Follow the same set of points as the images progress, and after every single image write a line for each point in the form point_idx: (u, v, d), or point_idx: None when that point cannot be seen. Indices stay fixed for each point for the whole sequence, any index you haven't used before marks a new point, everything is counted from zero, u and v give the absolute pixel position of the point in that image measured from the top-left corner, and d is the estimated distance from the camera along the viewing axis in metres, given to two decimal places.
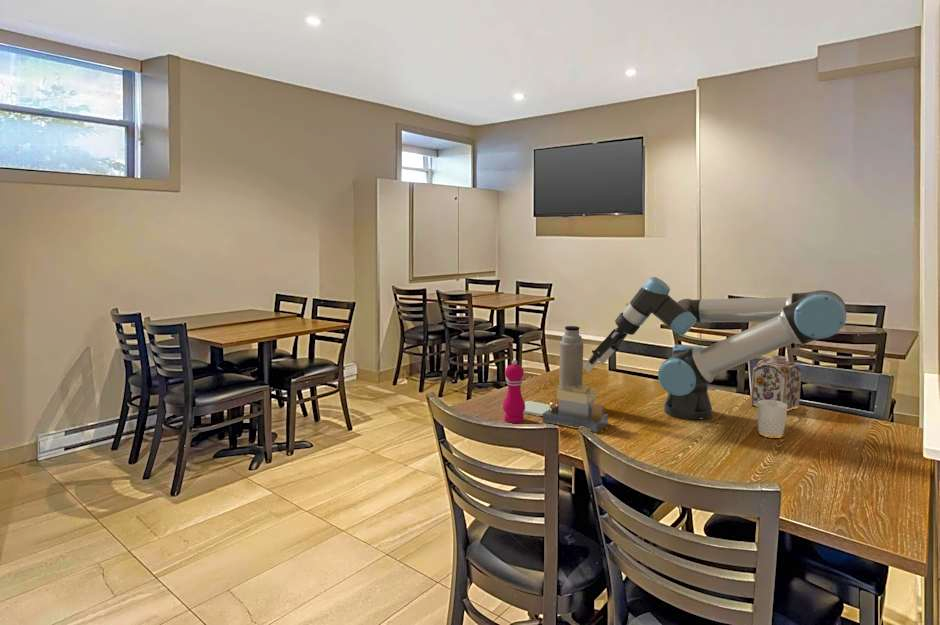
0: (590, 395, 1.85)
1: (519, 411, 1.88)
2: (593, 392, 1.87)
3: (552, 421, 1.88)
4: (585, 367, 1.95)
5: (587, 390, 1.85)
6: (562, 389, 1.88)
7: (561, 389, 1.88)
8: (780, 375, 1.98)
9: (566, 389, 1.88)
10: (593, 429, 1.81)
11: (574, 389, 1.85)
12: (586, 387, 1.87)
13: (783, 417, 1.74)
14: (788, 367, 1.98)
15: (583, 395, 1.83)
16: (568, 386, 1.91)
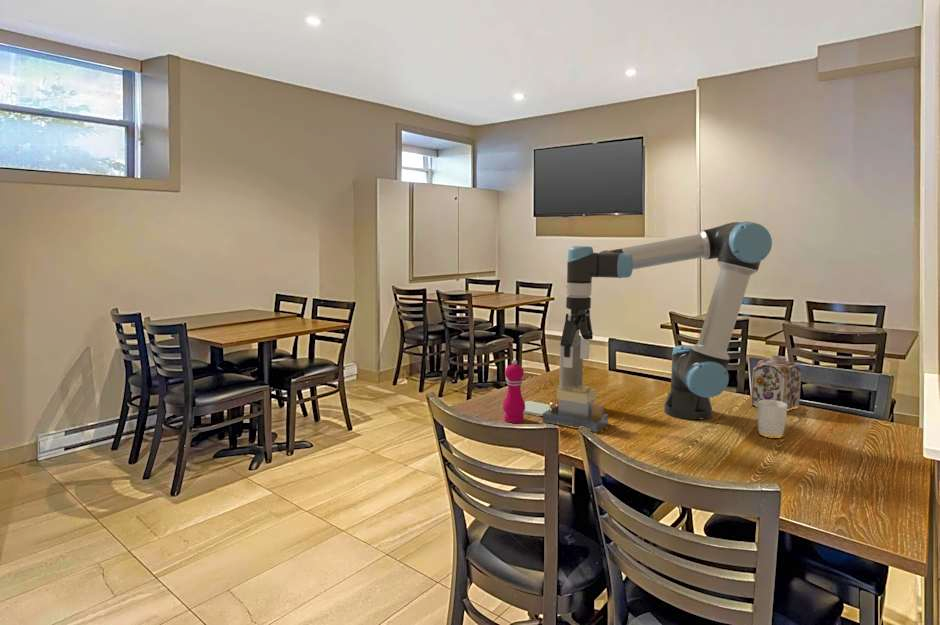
0: (590, 395, 1.85)
1: (519, 411, 1.88)
2: (593, 392, 1.87)
3: (552, 421, 1.88)
4: (566, 364, 1.81)
5: (587, 390, 1.85)
6: (562, 389, 1.88)
7: (561, 389, 1.88)
8: (780, 375, 1.98)
9: (566, 389, 1.88)
10: (593, 429, 1.81)
11: (574, 389, 1.85)
12: (586, 387, 1.87)
13: (783, 417, 1.74)
14: (788, 367, 1.98)
15: (583, 395, 1.83)
16: (568, 386, 1.91)
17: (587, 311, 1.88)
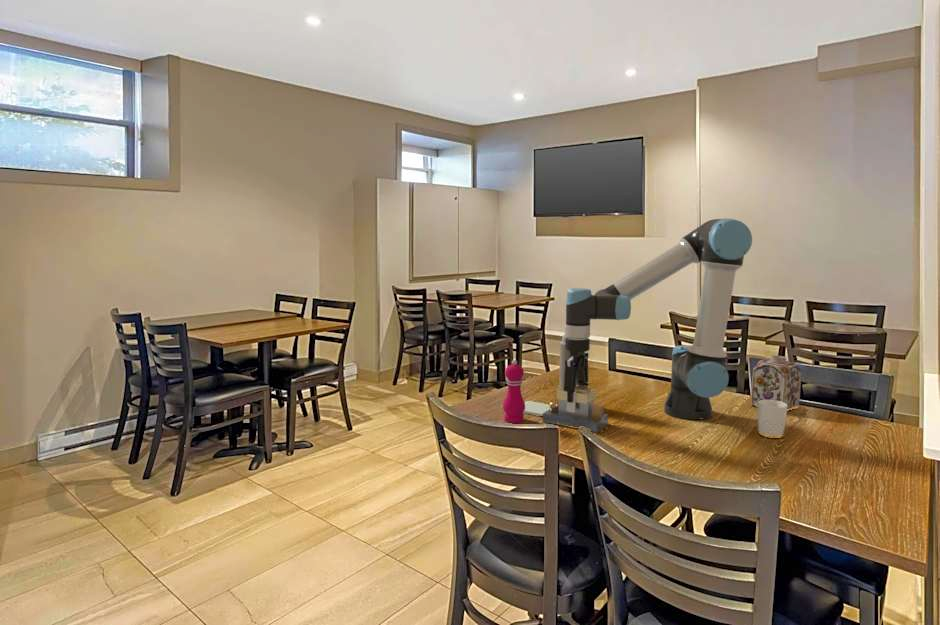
0: (590, 395, 1.85)
1: (519, 411, 1.88)
2: (593, 392, 1.87)
3: (552, 421, 1.88)
4: (569, 409, 1.85)
5: (587, 390, 1.85)
6: (562, 389, 1.88)
7: (561, 389, 1.88)
8: (780, 375, 1.98)
9: None
10: (593, 429, 1.81)
11: None
12: (586, 387, 1.87)
13: (783, 417, 1.74)
14: (788, 367, 1.98)
15: (583, 395, 1.83)
16: None
17: (586, 354, 1.90)
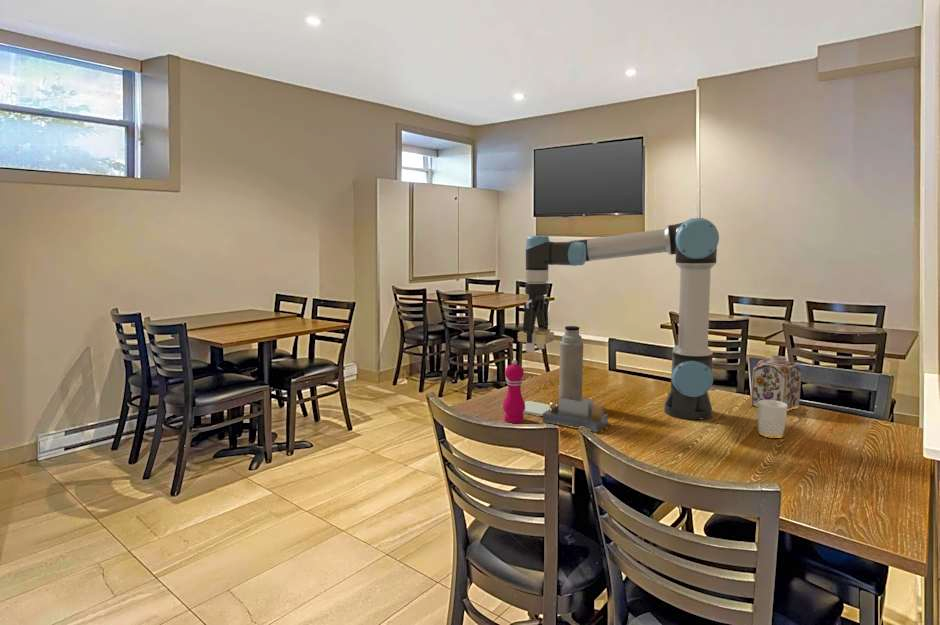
0: (548, 336, 1.95)
1: (519, 411, 1.88)
2: (551, 334, 1.98)
3: (552, 421, 1.88)
4: (529, 350, 1.96)
5: (545, 332, 1.96)
6: (522, 332, 1.99)
7: (521, 332, 1.99)
8: (780, 375, 1.98)
9: None
10: (593, 429, 1.81)
11: None
12: (545, 329, 1.97)
13: (783, 417, 1.74)
14: (788, 367, 1.98)
15: (541, 336, 1.94)
16: None
17: (545, 299, 2.01)
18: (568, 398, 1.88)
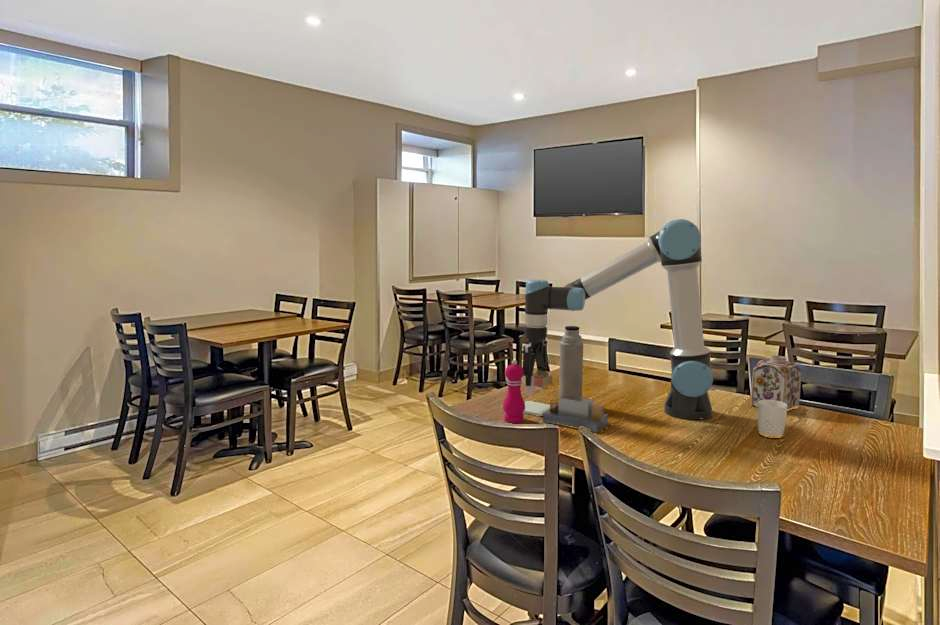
0: (547, 379, 1.98)
1: (519, 411, 1.88)
2: (550, 377, 2.00)
3: (552, 421, 1.88)
4: (527, 392, 1.98)
5: (544, 375, 1.98)
6: None
7: None
8: (780, 375, 1.98)
9: None
10: (593, 429, 1.81)
11: None
12: (544, 372, 2.00)
13: (783, 417, 1.74)
14: (788, 367, 1.98)
15: (540, 379, 1.96)
16: None
17: (545, 341, 2.03)
18: (568, 398, 1.88)
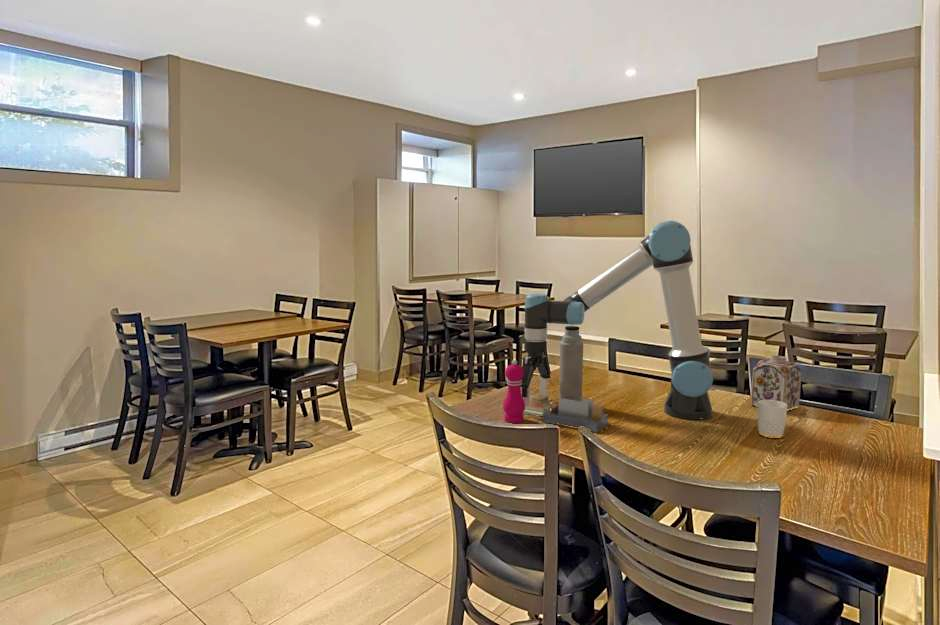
0: (547, 403, 1.99)
1: (519, 411, 1.88)
2: (550, 401, 2.01)
3: (552, 421, 1.88)
4: None
5: (544, 399, 1.99)
6: None
7: None
8: (780, 375, 1.98)
9: None
10: (593, 429, 1.81)
11: (532, 398, 2.00)
12: (544, 396, 2.01)
13: (783, 417, 1.74)
14: (788, 367, 1.98)
15: (540, 404, 1.97)
16: None
17: (544, 352, 2.04)
18: (568, 398, 1.88)
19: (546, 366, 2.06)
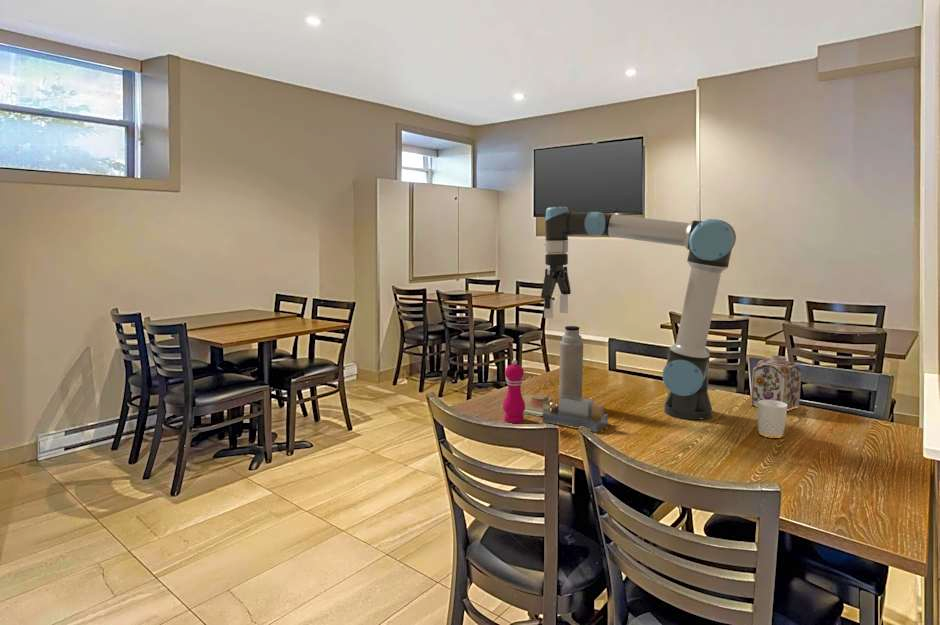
0: (547, 403, 1.99)
1: (519, 411, 1.88)
2: (550, 401, 2.01)
3: (552, 421, 1.88)
4: (547, 315, 1.96)
5: (544, 399, 1.99)
6: None
7: None
8: (780, 375, 1.98)
9: (525, 398, 2.02)
10: (593, 429, 1.81)
11: (532, 398, 2.00)
12: (544, 396, 2.01)
13: (783, 417, 1.74)
14: (788, 367, 1.98)
15: (540, 404, 1.97)
16: (528, 395, 2.06)
17: (565, 268, 2.05)
18: (568, 398, 1.88)
19: (566, 282, 2.07)
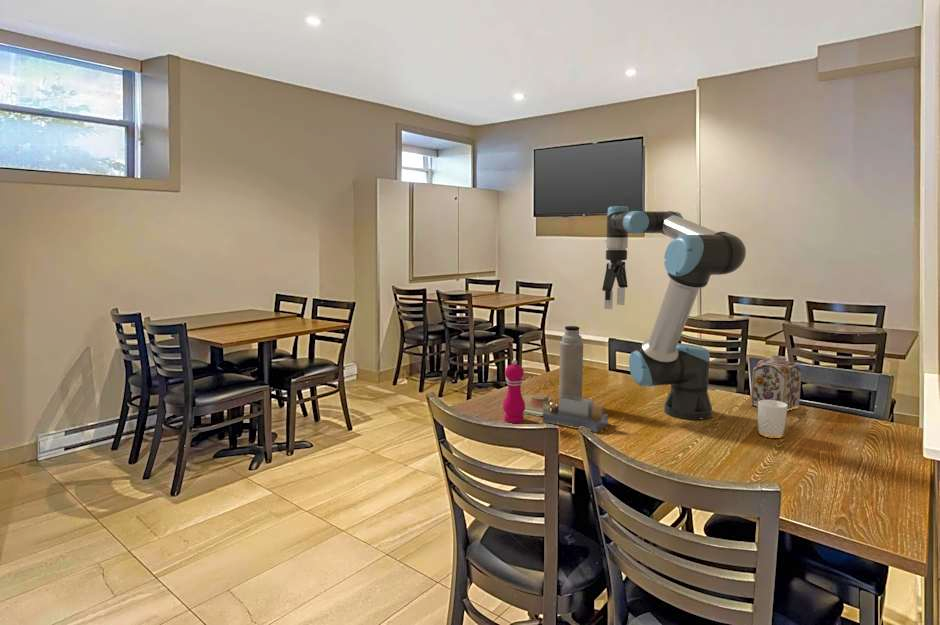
0: (547, 403, 1.99)
1: (519, 411, 1.88)
2: (550, 401, 2.01)
3: (552, 421, 1.88)
4: (607, 306, 2.13)
5: (544, 399, 1.99)
6: None
7: None
8: (780, 375, 1.98)
9: (525, 398, 2.02)
10: (593, 429, 1.81)
11: (532, 398, 2.00)
12: (544, 396, 2.01)
13: (783, 417, 1.74)
14: (788, 367, 1.98)
15: (540, 404, 1.97)
16: (528, 395, 2.06)
17: (623, 263, 2.21)
18: (568, 398, 1.88)
19: (624, 276, 2.23)
